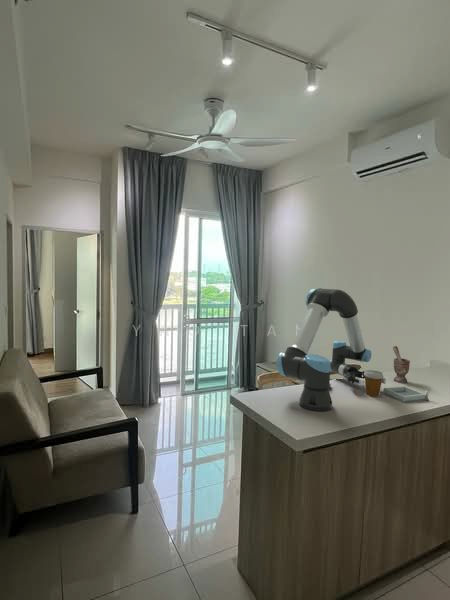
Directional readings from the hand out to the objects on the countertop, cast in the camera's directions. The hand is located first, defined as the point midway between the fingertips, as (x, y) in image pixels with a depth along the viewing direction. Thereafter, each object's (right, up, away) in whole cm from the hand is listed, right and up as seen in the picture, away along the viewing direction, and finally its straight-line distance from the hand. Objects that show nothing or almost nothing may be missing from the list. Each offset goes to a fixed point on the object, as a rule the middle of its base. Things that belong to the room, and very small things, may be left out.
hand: (374, 382), depth 191 cm
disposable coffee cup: (-1, -7, +1) cm, 7 cm away
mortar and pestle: (+26, -6, +29) cm, 39 cm away
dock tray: (+15, -7, 0) cm, 17 cm away
